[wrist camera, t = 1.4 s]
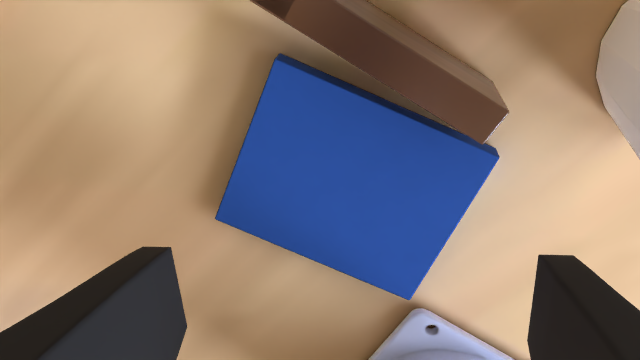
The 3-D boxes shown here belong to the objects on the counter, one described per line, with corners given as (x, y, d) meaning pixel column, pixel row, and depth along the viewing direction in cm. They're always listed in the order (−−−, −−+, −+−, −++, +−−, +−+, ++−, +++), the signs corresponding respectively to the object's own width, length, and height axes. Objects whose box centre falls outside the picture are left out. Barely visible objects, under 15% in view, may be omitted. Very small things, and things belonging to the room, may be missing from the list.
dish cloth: (496, 148, 19) (500, 157, 18) (409, 288, 22) (409, 301, 21) (279, 52, 18) (274, 58, 18) (220, 209, 21) (214, 219, 21)
